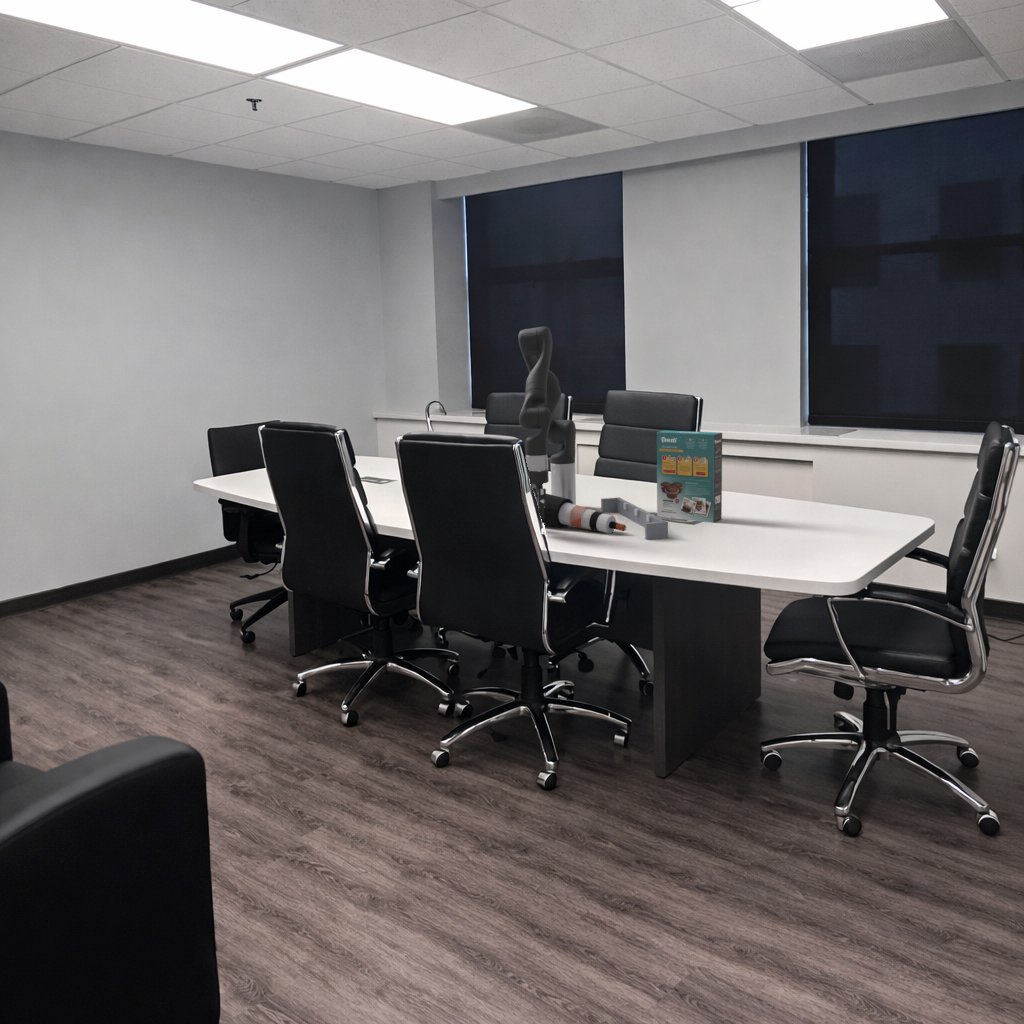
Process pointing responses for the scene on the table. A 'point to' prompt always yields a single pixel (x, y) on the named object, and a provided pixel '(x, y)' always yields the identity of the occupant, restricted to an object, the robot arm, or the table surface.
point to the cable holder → (637, 517)
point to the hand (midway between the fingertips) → (538, 516)
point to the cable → (577, 516)
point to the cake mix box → (689, 475)
